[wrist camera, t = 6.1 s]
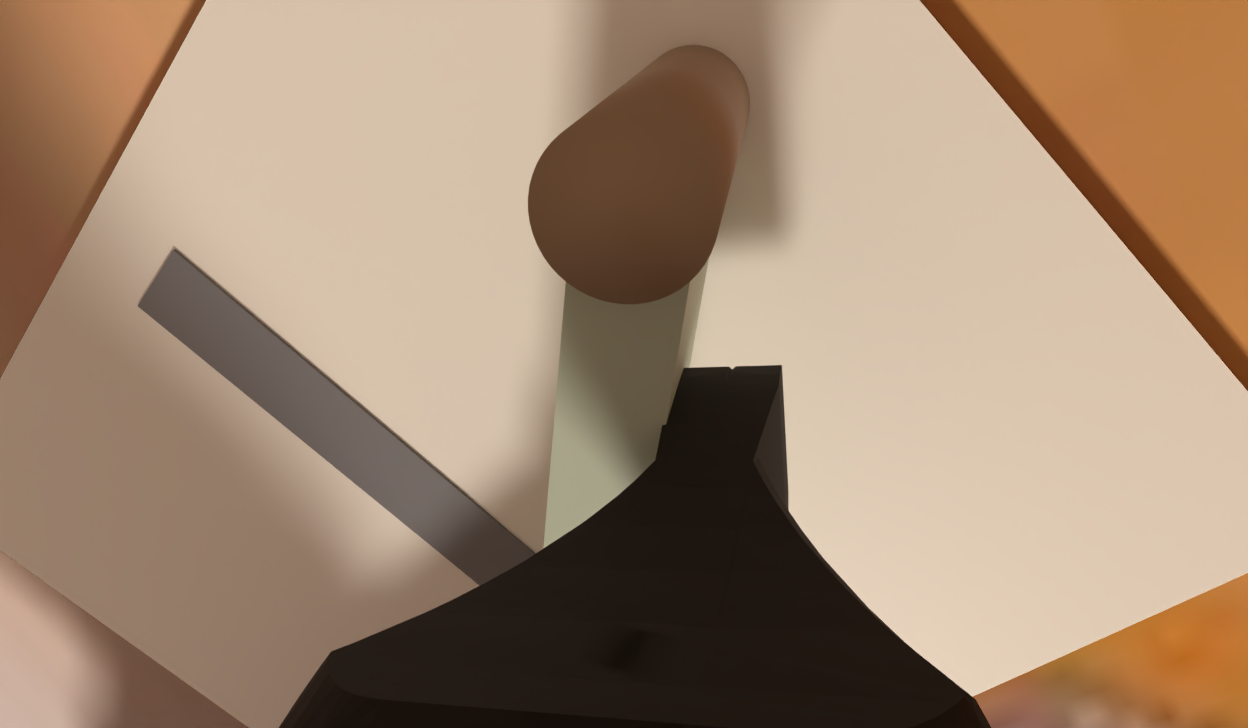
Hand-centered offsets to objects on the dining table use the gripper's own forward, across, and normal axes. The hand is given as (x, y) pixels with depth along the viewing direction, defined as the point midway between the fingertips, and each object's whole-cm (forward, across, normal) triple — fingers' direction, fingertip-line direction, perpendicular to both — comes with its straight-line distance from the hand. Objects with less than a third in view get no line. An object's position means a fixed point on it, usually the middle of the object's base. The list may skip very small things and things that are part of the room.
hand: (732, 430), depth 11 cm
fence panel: (+2, +2, +1) cm, 3 cm away
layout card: (+3, +5, +3) cm, 7 cm away
